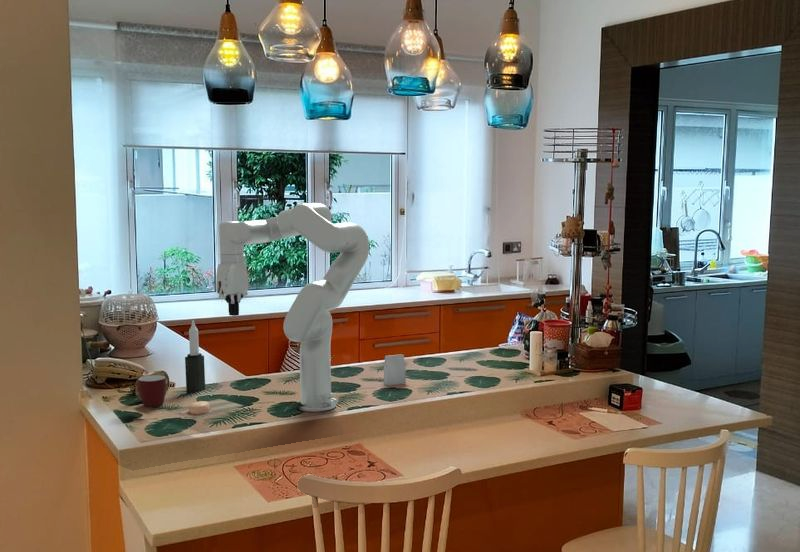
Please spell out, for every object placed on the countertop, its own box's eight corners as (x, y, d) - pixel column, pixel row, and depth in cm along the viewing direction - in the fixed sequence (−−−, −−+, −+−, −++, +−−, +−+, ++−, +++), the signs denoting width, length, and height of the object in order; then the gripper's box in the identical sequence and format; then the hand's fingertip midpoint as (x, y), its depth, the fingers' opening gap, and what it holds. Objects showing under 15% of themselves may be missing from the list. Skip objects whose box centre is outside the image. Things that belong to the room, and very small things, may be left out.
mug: (138, 405, 249) (136, 375, 248) (164, 403, 252) (163, 372, 251) (141, 414, 239) (139, 382, 238) (168, 411, 242) (167, 379, 241)
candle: (185, 395, 261) (181, 321, 259) (194, 391, 266) (191, 318, 263) (198, 396, 260) (195, 321, 257) (206, 392, 264) (204, 319, 262)
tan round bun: (214, 412, 238) (213, 403, 237) (198, 419, 233) (196, 410, 233) (202, 409, 241) (200, 399, 241) (186, 415, 237) (184, 406, 236)
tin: (141, 404, 251) (140, 378, 250) (133, 403, 252) (132, 377, 251) (170, 392, 265) (169, 368, 264) (163, 391, 266) (161, 367, 265)
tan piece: (244, 410, 242) (244, 405, 242) (194, 423, 229) (194, 418, 229) (219, 403, 251) (219, 398, 251) (169, 415, 238) (169, 410, 237)
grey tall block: (405, 383, 274) (405, 355, 273) (387, 385, 272) (387, 357, 271) (401, 381, 278) (401, 353, 276) (383, 382, 275) (383, 354, 274)
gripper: (243, 257, 263) (245, 311, 265) (205, 260, 252) (208, 317, 254) (257, 258, 258) (259, 313, 260) (219, 261, 247) (221, 319, 249)
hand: (234, 315), depth 257 cm, fingers closed
